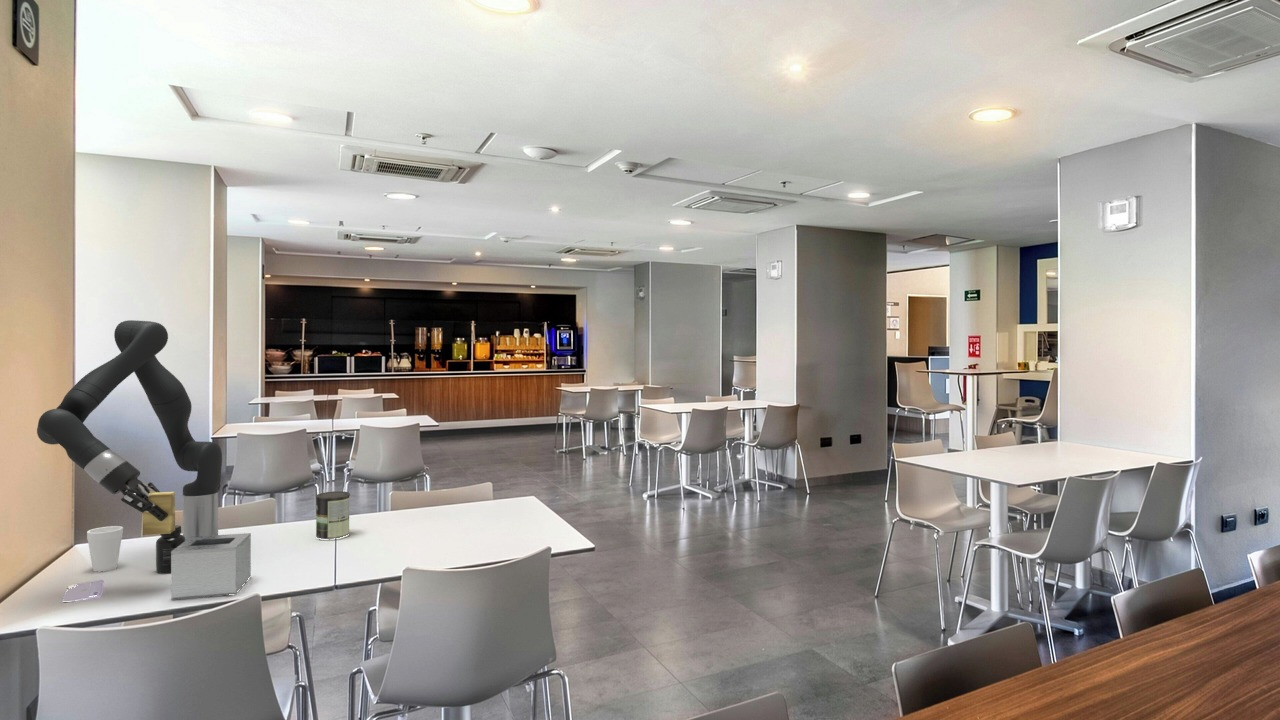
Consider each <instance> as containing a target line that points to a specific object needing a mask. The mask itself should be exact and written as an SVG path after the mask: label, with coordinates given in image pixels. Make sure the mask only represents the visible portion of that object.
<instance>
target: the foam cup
mask: <svg viewBox="0 0 1280 720" xmlns="http://www.w3.org/2000/svg"><path fill="white" fill-rule="evenodd" d="M123 530H124V527H123V526H119V525H114V526H113V525H111V526H102V527H101V526H100V527H96V528H92V529H89V530H87V531H86V540H87V542H88V548H89V555H90V560H91V566H92V567H91V568H92V571H93V572H94V571H98V572H97V573H101V571H103V572H108V571H113V570H115V569H117V568H118V564H119V557H120V550H121V546H122V545H121V543H122V538H123V535H124V531H123Z"/></svg>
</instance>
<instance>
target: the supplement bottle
mask: <svg viewBox="0 0 1280 720" xmlns="http://www.w3.org/2000/svg"><path fill="white" fill-rule="evenodd" d="M159 536H160V537H159V538H157V539H156V542H155V571H156V572H157V573H158V574H171V551H172V550H174V549H175V548H177V547H178V546H179V545H181V544H182V543H184V542H185V537H184V536H183V534H182V525H176V524H175V530H174V531H173V532H171V533H170V534H159Z"/></svg>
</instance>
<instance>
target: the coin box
mask: <svg viewBox="0 0 1280 720" xmlns="http://www.w3.org/2000/svg"><path fill="white" fill-rule="evenodd" d="M251 535H252V533H251V532H247V533H245V532H244V533H230V534H228V533H227V534H218V535H211V536H195V537H190V538H189V539H188V540H186V541H185V542H184V543H182V544H181V545H179V546H178V547H177V548H175V549H174V550H172V551H171V573H170V581H171V583H170V587H171V588H170V589H171V590H170V593H171V594H170V598H171V599H170V601H177V600H178V601H180V600H190V598H192V599H201V598H203V597H204V598H211V597H210V596H216V597H222V596H221V595H228V596H230V595H229V594H236V593H237V591H238V590H239V589H240V588H241V587H242V585H243V584H244V583H245V582H246V581H247V580H248V578H249V577H250V576H251V577H252V575H251V571H252V569H251V568H252V565H251V564H252V559H251V558H252V556H251V555H252V553H251V552H252V550H251V549H252V545H251V544H252V538H251V537H252V536H251ZM248 581H249V580H248ZM248 581H247V582H248ZM247 582H246V583H247ZM246 583H245V584H246ZM242 588H243V587H242ZM242 588H241V589H242ZM241 589H240V590H241ZM240 590H239V591H240ZM237 594H238V593H237ZM237 594H236V595H237ZM204 598H203V599H204Z"/></svg>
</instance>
